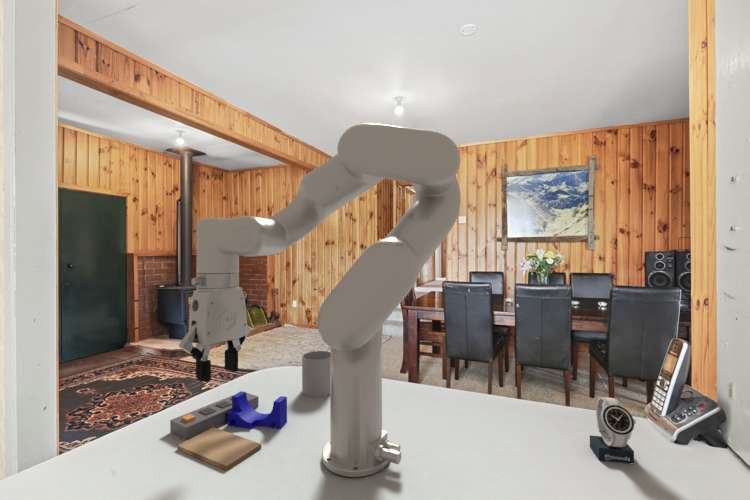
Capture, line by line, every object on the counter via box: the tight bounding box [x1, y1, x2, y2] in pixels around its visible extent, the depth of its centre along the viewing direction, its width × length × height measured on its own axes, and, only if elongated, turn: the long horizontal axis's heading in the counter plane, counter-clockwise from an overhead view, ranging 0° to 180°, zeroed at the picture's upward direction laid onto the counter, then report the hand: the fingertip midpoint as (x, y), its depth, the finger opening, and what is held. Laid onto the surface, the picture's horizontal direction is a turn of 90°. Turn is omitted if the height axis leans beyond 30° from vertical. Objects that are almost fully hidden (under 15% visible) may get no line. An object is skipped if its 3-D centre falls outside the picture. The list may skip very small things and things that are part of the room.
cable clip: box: [227, 390, 288, 430], centre depth 79 cm, size 12×4×6 cm, turn 74°
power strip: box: [169, 390, 259, 441], centre depth 81 cm, size 18×6×4 cm, turn 148°
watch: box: [589, 396, 637, 464], centre depth 65 cm, size 6×8×11 cm
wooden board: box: [176, 427, 262, 471], centre depth 69 cm, size 14×8×1 cm, turn 61°
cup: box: [301, 350, 331, 398], centre depth 96 cm, size 8×8×10 cm
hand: (218, 374), depth 69 cm, fingers open, 5 cm apart
